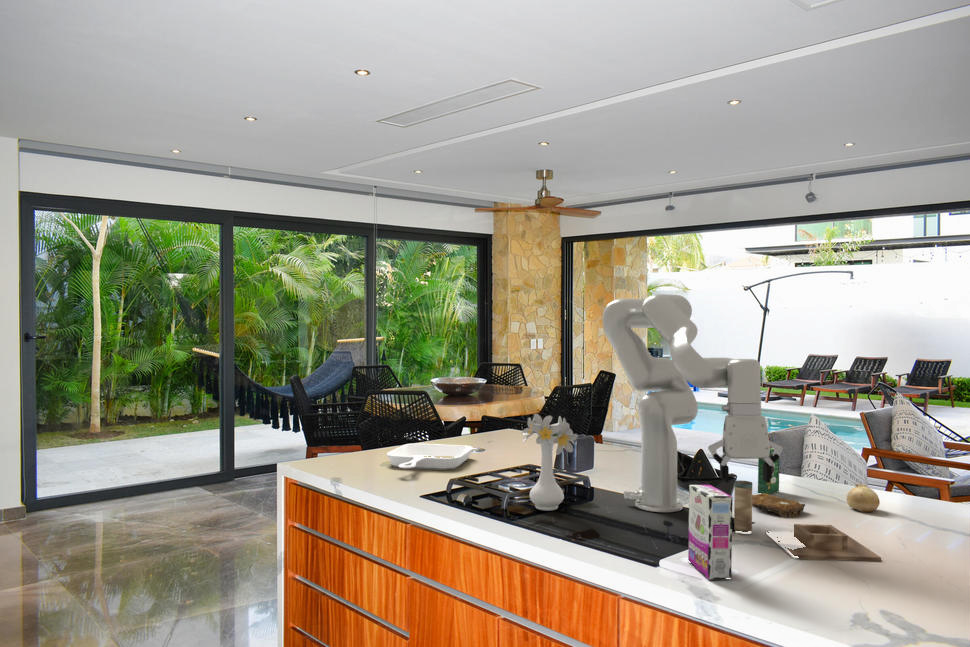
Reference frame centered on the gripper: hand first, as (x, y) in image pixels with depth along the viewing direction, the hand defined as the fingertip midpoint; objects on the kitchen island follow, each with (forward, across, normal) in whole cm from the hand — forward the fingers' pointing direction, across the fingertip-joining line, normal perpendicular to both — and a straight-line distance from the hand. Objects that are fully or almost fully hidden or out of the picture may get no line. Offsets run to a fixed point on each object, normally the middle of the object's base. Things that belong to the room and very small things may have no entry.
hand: (745, 481), depth 168 cm
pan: (+9, -89, +72) cm, 114 cm away
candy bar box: (+13, -16, -27) cm, 34 cm away
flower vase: (+11, -47, +19) cm, 52 cm away
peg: (+12, -1, +1) cm, 12 cm away
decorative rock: (+12, +14, +23) cm, 29 cm away
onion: (+13, +38, +25) cm, 47 cm away
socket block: (+13, +13, -9) cm, 21 cm away
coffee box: (+12, +19, +43) cm, 48 cm away
